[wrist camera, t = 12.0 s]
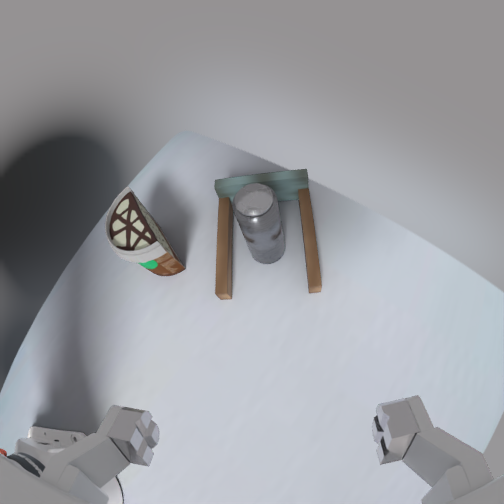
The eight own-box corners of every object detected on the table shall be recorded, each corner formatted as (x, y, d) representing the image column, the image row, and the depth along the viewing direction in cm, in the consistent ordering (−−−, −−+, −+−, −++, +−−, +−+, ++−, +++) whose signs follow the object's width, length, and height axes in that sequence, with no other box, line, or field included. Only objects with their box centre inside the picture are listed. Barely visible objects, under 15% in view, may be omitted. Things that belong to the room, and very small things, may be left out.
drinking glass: (250, 265, 39) (230, 220, 29) (250, 234, 41) (231, 183, 31) (286, 262, 39) (278, 215, 28) (283, 230, 41) (275, 178, 30)
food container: (127, 242, 45) (93, 210, 36) (156, 220, 46) (126, 184, 37) (156, 301, 39) (117, 275, 30) (190, 276, 40) (159, 244, 31)
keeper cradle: (220, 299, 38) (209, 287, 33) (223, 199, 45) (215, 179, 40) (320, 292, 36) (322, 278, 32) (307, 190, 43) (306, 168, 39)
